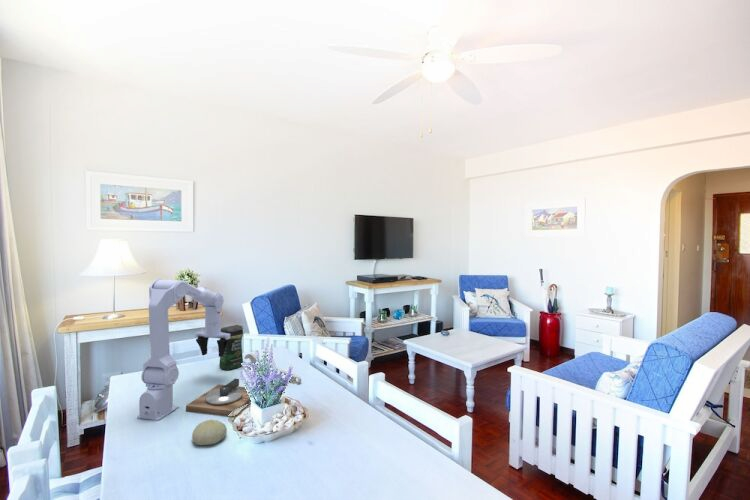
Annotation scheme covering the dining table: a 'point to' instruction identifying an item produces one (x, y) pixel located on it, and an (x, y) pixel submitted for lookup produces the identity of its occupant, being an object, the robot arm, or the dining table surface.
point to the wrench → (293, 378)
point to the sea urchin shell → (209, 432)
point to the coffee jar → (232, 348)
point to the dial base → (222, 410)
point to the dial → (225, 394)
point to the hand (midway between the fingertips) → (212, 355)
